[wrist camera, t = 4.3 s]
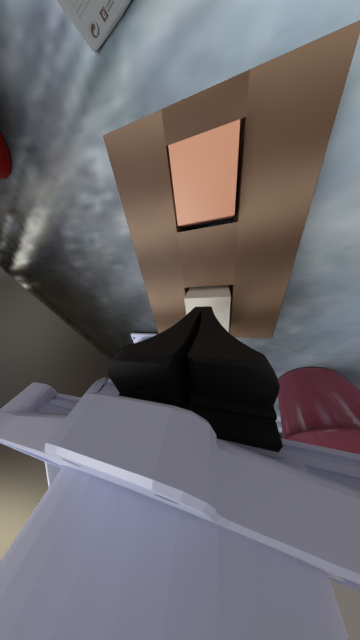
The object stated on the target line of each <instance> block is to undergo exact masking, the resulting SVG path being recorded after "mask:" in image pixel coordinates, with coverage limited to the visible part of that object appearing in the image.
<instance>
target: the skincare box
mask: <svg viewBox="0 0 360 640" xmlns="http://www.w3.org/2000/svg"><path fill="white" fill-rule="evenodd" d="M57 1H58V3H59V4H60V5H61V7H62V8H63V10H64V11H65V12H66V14H67V15H68V17H69V18H70V19H71V21H72V22H73V24H74V25H75V27H76V28H77V29H78V31H79V32H80V34H81V35H82V36H83V38H84V39H85V41H86V42H87V43H88V45H89V46H90V48H91V49H92V50H93V51H94V52H96V51H97V50H98V49H99V48H100V46H101V45H102V44H103V43H104V41H105V40H106V39H107V37H108V36H109V35H110V33H111V31H112V30H113V28H114V27H115V25H116V24H117V22H118V21H119V19H120V18H121V16H122V15H123V13H124V11H125V10H126V8H127V7H128V5H129V3H130V2H131V0H57Z"/></svg>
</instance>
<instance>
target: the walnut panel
mask: <svg viewBox="0 0 360 640" xmlns="http://www.w3.org/2000/svg"><path fill="white" fill-rule="evenodd" d="M359 33H360V20H359V21H357V22H355V23H353V24H350V25H348V26H346V27H344V28H341V29H339V30H337V31H335V32H333V33H330V34H328V35H326V36H324V37H321V38H319V39H317V40H315V41H313V42H310V43H308V44H306V45H304V46H301V47H299V48H297V49H295V50H293V51H290V52H288V53H286V54H284V55H281V56H279V57H277V58H275V59H273V60H270V61H268V62H266V63H264V64H261V65H259V66H257V67H255V68H252V69H250V70H248V71H246V72H244V73H241V74H239V75H237V76H235V77H232V78H230V79H228V80H226V81H224V82H221V83H219V84H217V85H215V86H212V87H210V88H208V89H206V90H204V91H201V92H199V93H197V94H195V95H192V96H190V97H188V98H186V99H183V100H181V101H179V102H177V103H175V104H172V105H170V106H168V107H166V108H163V109H161V110H159V111H157V112H155V113H152V114H150V115H148V116H146V117H143V118H141V119H139V120H137V121H135V122H132V123H130V124H128V125H126V126H123V127H121V128H119V129H117V130H114V131H112V132H110V133H108V134H106V135H103V137H104V141H105V144H106V148H107V152H108V155H109V159H110V162H111V166H112V169H113V173H114V176H115V180H116V184H117V187H118V191H119V194H120V198H121V201H122V205H123V208H124V212H125V216H126V219H127V223H128V226H129V230H130V233H131V237H132V241H133V244H134V248H135V251H136V255H137V258H138V262H139V265H140V269H141V273H142V276H143V280H144V283H145V287H146V290H147V294H148V297H149V301H150V305H151V308H152V312H153V315H154V319H155V322H156V326H157V329H158V333H161V332H163V331H165V330H167V329H168V328H170V327H172V326H173V325H175V324H176V323H177V322H179V321H180V320H181V319H182V318H184V317H185V316H186V308H185V301H184V298H185V296H186V294H187V292H188V290H189V288H190V287H204V286H221V285H230V295H231V302H230V318H229V333H230V334H231V335H232V336H233V337H253V338H272V337H273V333H274V330H275V326H276V323H277V320H278V316H279V313H280V309H281V306H282V302H283V299H284V295H285V292H286V288H287V285H288V281H289V278H290V274H291V271H292V267H293V264H294V260H295V257H296V253H297V250H298V246H299V243H300V239H301V236H302V232H303V229H304V225H305V222H306V218H307V215H308V211H309V208H310V204H311V201H312V197H313V194H314V190H315V187H316V183H317V180H318V176H319V173H320V169H321V166H322V162H323V159H324V156H325V152H326V149H327V145H328V142H329V138H330V135H331V131H332V128H333V124H334V121H335V117H336V114H337V110H338V107H339V103H340V100H341V96H342V93H343V89H344V86H345V82H346V79H347V75H348V72H349V68H350V65H351V61H352V58H353V54H354V51H355V47H356V44H357V40H358V37H359ZM239 119H240V132H239V149H238V166H237V183H236V200H235V215H234V223H228V224H223V225H217V226H211V227H206V228H200V229H194V230H189V231H186V230H185V227H182V226H178V222H177V214H176V206H175V198H174V189H173V181H172V173H171V165H170V156H169V148H168V145H171V144H173V143H176V142H179V141H182V140H184V139H187V138H190V137H193V136H195V135H198V134H201V133H203V132H206V131H209V130H212V129H214V128H217V127H220V126H223V125H225V124H228V123H231V122H233V121H236V120H239Z"/></svg>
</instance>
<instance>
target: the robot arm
mask: <svg viewBox="0 0 360 640" xmlns="http://www.w3.org/2000/svg"><path fill="white" fill-rule="evenodd" d="M131 337H132V339H133V342H134V344H131V345H128V346H124V347H123V348H122V349H121V350H120V352H119V353H118V354H117V355H116V356H115V358H114V359H113V360H112V361H111V363H110V364H109V365H108V368H107V372H108V376H109V378H110V379H109V380H108V382H107V379H106V378H102V379H99V380H97V381H96V382H95V383H94V384H93V385H92V386H91V387H90V388H89V389H88V391H87V392H86V393H85V394H84V395H83V397H82V398H79V397H74V396H69V395H64V394H59V393H57V392H56V391H55V390H54V389H53V388H52V387H51V386H49V385H46V384H41V383H36V382H35V383H32V384H31V385H30V386H28V387H27V388H26V389H25V390H24V391H22V392H21V393H20V394H19V395H17V396H16V397H15V398H14V399H12V400H11V401H10V402H9V403H8V404H7V405H5V406H4V407H3V408H1V409H0V443H2V444H4V445H7V446H9V447H11V448H13V449H15V450H18V451H20V452H23V453H25V454H28V455H30V456H32V457H35V458H37V459H40V460H42V461H44V462H45V466H46V472H47V479H48V485H49V489H48V490H47V492H46V493H45V495H44V496H43V498H42V499H41V501H40V502H39V504H38V505H37V507H36V508H35V510H34V511H33V513H32V514H31V516H30V517H29V519H28V520H27V522H26V523H25V525H24V527H23V528H22V530H21V531H20V533H19V534H18V536H17V537H16V539H15V540H14V542H13V543H12V545H11V546H10V548H9V549H8V551H7V552H6V554H5V556H4V557H3V559H2V560H1V562H0V640H349V638H348V635H347V632H346V629H345V626H344V623H343V619H342V616H341V614H340V610H339V607H338V604H337V601H336V598H335V595H334V592H333V589H332V586H331V583H330V580H333V581H335V582H338V583H340V584H343V585H345V586H348V587H350V588H352V589H355V590H358V591H360V454H356V453H351V452H346V451H341V450H336V449H331V448H326V447H321V446H316V445H311V444H306V443H301V442H296V441H291V440H286V439H281V438H280V435H279V431H278V428H277V425H276V421H275V420H276V419H277V416H276V413H275V410H274V403H275V401H276V398H277V396H278V394H279V390H280V384H279V382H278V379H277V376H276V374H275V372H274V370H273V368H272V367H271V365H270V363H269V362H268V360H267V358H266V357H265V355H263V354H261V353H259V352H257V351H256V350H254V349H252V348H250V347H248V346H246V345H245V344H243V343H242V342H240V341H239V340H237V339H236V338H235V337H233V336H232V335H231V334H230V333H229V332H228V331H227V330H226V329H225V328H224V327H223V326H222V325H221V324H220V322H219V321H218V319H217V318H216V316H215V314H214V312H213V310H212V307H211V306H204V307H194V308H193V309H192V310H191V311H190V312H189V313H188V314H187V315H186V316H185V317H184V318H182V319H181V320H180V321H179V322H177V323H176V324H175V325H173V326H172V327H170V328H168V329H167V330H165V331H163V332H161V333H159V334H154V333H132V334H131Z"/></svg>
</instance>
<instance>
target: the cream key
mask: <svg viewBox="0 0 360 640" xmlns="http://www.w3.org/2000/svg"><path fill="white" fill-rule="evenodd" d="M184 301H185V308H186V315H187V314H188V313H189V312H190V311H191V310H192V309H193V308H194V307H204V306H211V307H212V310H213V312H214V314H215V316H216V318H217V319H218V321H219V322H220V324H221V325H222V326H223V327H224V328H225V329H226V330H227V331H228V332H229V318H230V302H231V295H230V290H229V285H221V286H204V287H190V288H189V290H188V292H187V294H186V296H185V298H184Z"/></svg>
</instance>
